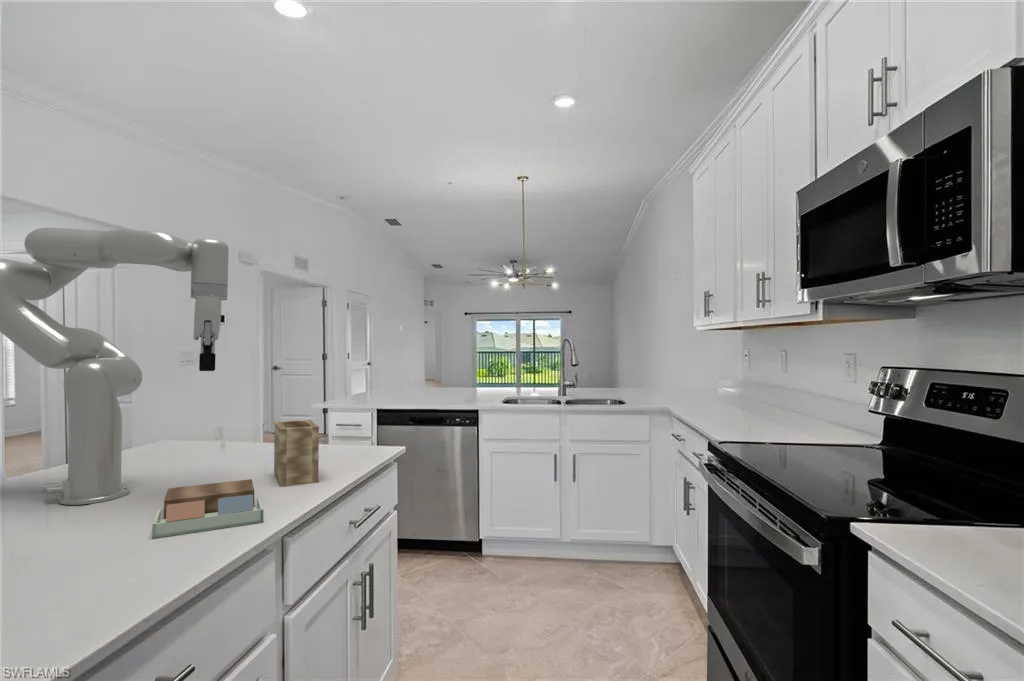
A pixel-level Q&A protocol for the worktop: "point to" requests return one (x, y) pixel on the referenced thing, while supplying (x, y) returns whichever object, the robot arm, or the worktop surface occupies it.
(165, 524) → the tray
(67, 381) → the robot arm
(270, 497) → the worktop surface
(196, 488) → the walnut board
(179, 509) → the terracotta tile
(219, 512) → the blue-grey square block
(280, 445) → the utensil caddy
